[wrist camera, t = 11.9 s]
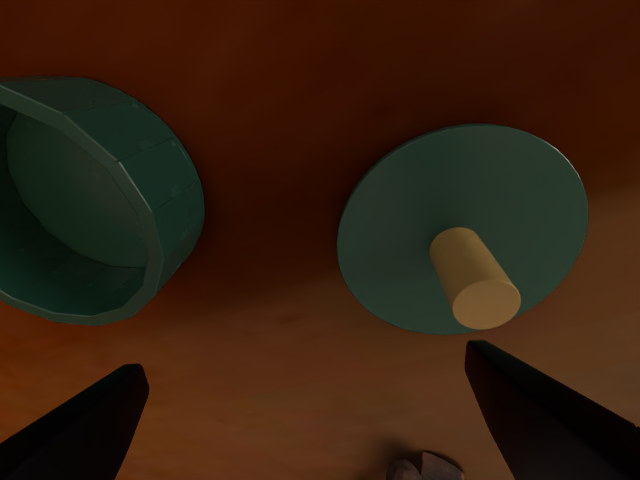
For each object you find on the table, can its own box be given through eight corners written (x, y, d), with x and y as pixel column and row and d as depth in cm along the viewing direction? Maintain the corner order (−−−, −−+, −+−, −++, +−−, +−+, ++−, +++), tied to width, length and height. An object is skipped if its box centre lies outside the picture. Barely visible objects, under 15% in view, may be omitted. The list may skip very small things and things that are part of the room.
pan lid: (634, 191, 16) (763, 250, 11) (471, 347, 21) (506, 431, 17) (414, 70, 14) (448, 75, 9) (303, 276, 20) (287, 346, 15)
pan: (229, 141, 16) (186, 169, 12) (181, 297, 22) (140, 353, 17) (-7, 29, 15) (-151, 17, 10) (6, 228, 20) (-86, 271, 16)
